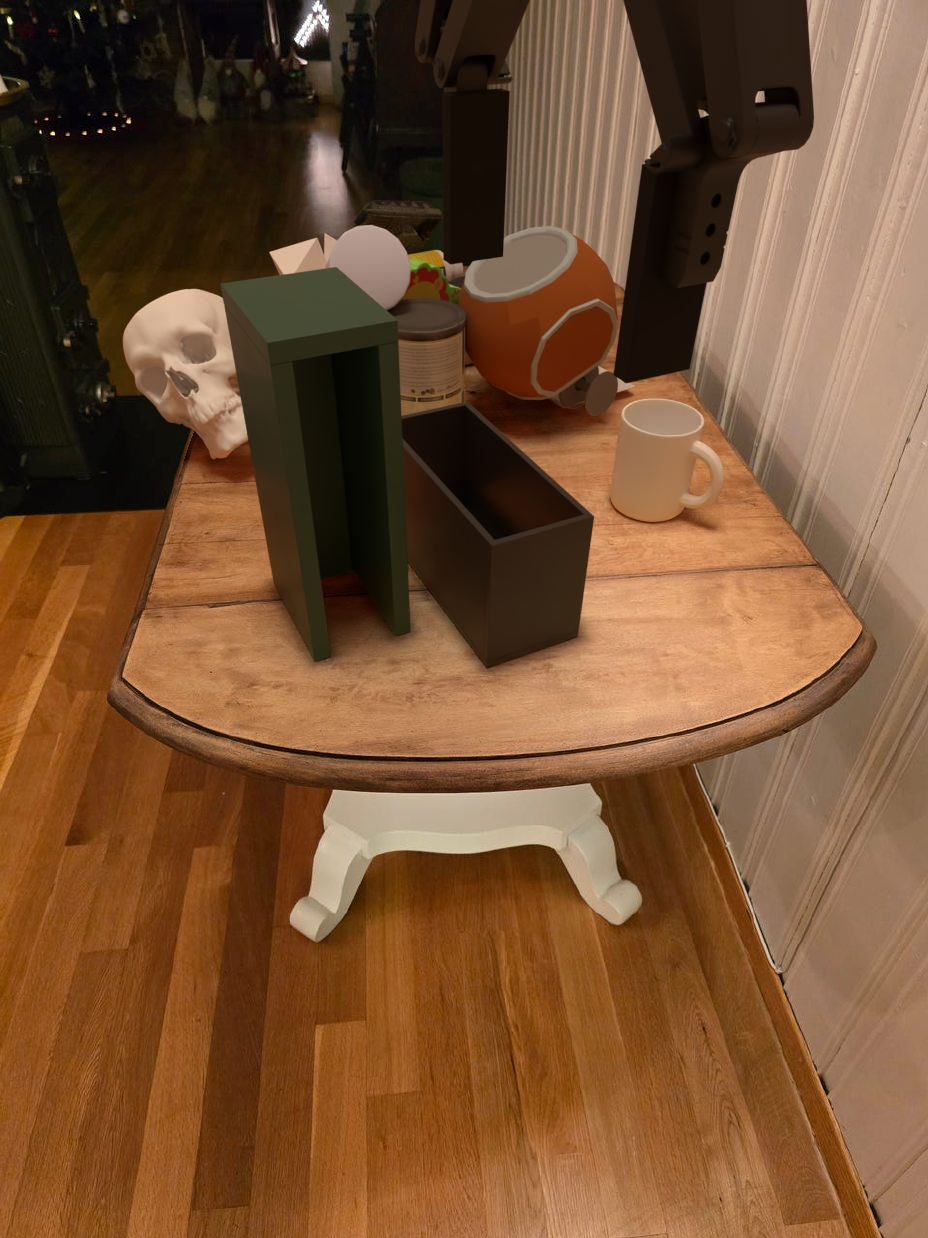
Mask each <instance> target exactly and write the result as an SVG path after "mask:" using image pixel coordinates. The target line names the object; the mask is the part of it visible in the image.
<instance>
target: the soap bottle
mask: <svg viewBox="0 0 928 1238" xmlns="http://www.w3.org/2000/svg"><path fill="white" fill-rule="evenodd" d="M336 240H337V241H336V243H335V244H334V246H333V249H332V251H331V254H330V256H329V259H328V261H327V264H326V267H325V269H326V268H333V267H337V268H338V269H339V270H341V271H342V272H343V273H344V274H345V275H346V276H347V277H349V278H350V279H351V280H352V281H353V282H354V283H355V284H357V285H358V286H359V287H360V288H361V289H362V290H364V291H365V292H366V293H367V294H368V295H369V296H370V297H372V298H373V299H374V300H375V301H376V302H377V303H379V304H380V305H381V306H382V307H383V308H384V309H385V310H389V309H391V308H393V307H395V306H396V305H397V303H398V302H399V301H400V300H401V299H402V298H403V297H404V296H405V293H406V291H407V288H408V286H409V283H410V272H411V266H410V262H409V259H408V255H407V252H406V250H405V248H404V247H403V245H402V244H401V242H400V241H399V239H398V238H396V237H395V236H394V235H393V234H391V233H390V232H389V231H387V230H386V229H383V228H380V227H376V226H373V225H366V226H357V227H355V228H354V227H352V228H350V229H348V230H347V231H345V232H344V233H342V234H341V236H340V237H339V238H338V239H336Z"/></svg>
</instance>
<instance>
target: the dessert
mask: <svg viewBox="0 0 928 1238" xmlns="http://www.w3.org/2000/svg"><path fill="white" fill-rule="evenodd" d="M598 367H599V374H601V373H603V372H606V371H608V370H607V369H605V368H603V367H601V366H600V365H598ZM617 380H618V389H617V394H618V393H621V392H623V391H627V390H631V389H633V388H635V387H636V386H635V385H634V384H632V383H624V382H623V381H621V380H620V379H619V378H617ZM547 399H549V400H550V401H552V403H555V404H556V405H557V406H559V407H561V408H562V409H568V408H567V407H565V406H564V405H562V403H561V402H560V399H559V395H558V394H557V395H556V396H554V397H550V398H547ZM584 402H585V401H582V402H580V403H584ZM580 403H577V404H580ZM577 404H575V405H577Z"/></svg>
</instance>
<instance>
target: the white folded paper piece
mask: <svg viewBox="0 0 928 1238" xmlns="http://www.w3.org/2000/svg"><path fill="white" fill-rule="evenodd" d="M323 236H324V238H323V239H324V241H323V243H324V244H323V249H322V246H321V244H320V241H319V238H318V237H314V238H311V239H308V240H305V241H301V242H297V243H295V244H292V245H288V246H284V247H282V248H278V249H275V250H272V251H269V255H270V257H271V259H272V262H273V264H274V266H275V268H276V270H277V273H278V275H284V274H291V273H298V272H305V271H312V270H319V269H325V267H326V264H327V261H328V259H329V256H330V254H331V251H332V249H333V246H334V244H335V243H336V241H337V240H338V239H336V238H333V237H332V236H331V235H329V234H327V233H325V232H324V235H323ZM323 251H324V254H323Z"/></svg>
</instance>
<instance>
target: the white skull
mask: <svg viewBox="0 0 928 1238" xmlns="http://www.w3.org/2000/svg"><path fill="white" fill-rule="evenodd" d="M122 348H123V354H124V358H125V361H126V364H127V366H128V368H129V369H130V371H131V373H132V374H133V376H134V382H135V387H136V389H137V390H138V391H139V392H140V393H141V394H143V395H144V397H146V398H147V399H148V401H150V402H151V403H152V405H154V407H155V408H156V409H157V411H158V413H159V414H160V415H161V417H162V418H164V419H165V421H166V422H168V423H171V424H176V425H181V424H182V425H183V426H184V427H185V428H189V429H191V430H193V431H194V432H195V433H196V434H197V435H198V436H199V438H200V439H201V440H202V442H203V443H204V446H205V447H206V449H207V450H208V452H209V456H210V458H211V459H212V460H216V459H226V458H227V457H228V456H229V455H230V454H231V452H232V451H234V450H235V449H237V448H238V447H240V446H241V445H242V444H244V443H246V442H248V436H247V431H246V425H245V419H244V414H243V408H242V403H241V397H240V391H239V386H238V380H237V375H236V369H235V363H234V358H233V352H232V346H231V341H230V335H229V330H228V324H227V318H226V313H225V307H224V302H223V297H221V296H220V295H218V294H215V293H212V292H209V291H206V290H202V289H198V288H190V289H189V288H186V289H179V290H176V291H172V292H169V293H167V294H164V295H162V296H159V297H158V298H156V299H154V300H152V301H151V302H148V303H147V304H146V305H145V306H143V307H142V308H141V309H139V310H138V311H137V312H136V313H135V314H134V315H133V317H132V318H131V319H130V321H129V322H128V323H127V325H126V327H125V329H124V331H123V336H122Z"/></svg>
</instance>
